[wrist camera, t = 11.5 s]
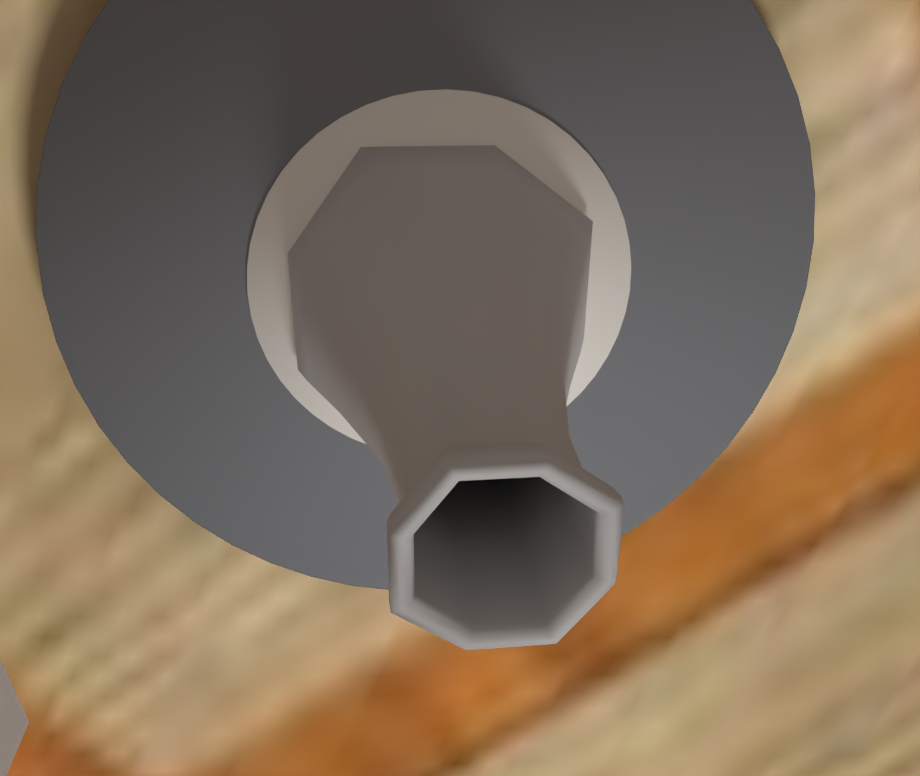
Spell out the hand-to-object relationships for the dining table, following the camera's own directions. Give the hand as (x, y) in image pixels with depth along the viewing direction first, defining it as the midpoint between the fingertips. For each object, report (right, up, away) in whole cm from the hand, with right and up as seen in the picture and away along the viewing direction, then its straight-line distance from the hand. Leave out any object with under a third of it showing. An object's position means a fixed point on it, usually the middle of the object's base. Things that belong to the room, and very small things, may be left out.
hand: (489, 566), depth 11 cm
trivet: (-1, +5, +10) cm, 11 cm away
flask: (-1, +5, +9) cm, 10 cm away
